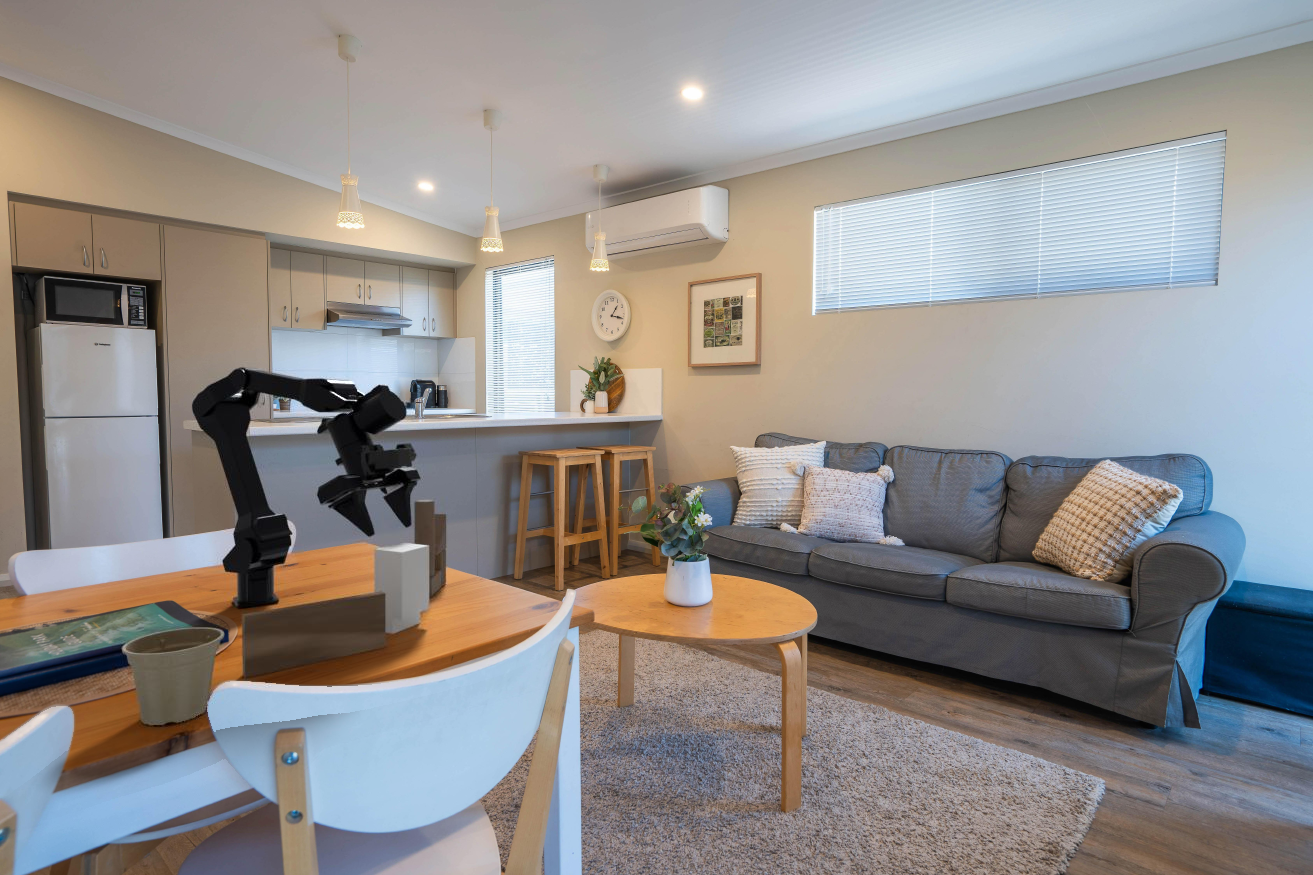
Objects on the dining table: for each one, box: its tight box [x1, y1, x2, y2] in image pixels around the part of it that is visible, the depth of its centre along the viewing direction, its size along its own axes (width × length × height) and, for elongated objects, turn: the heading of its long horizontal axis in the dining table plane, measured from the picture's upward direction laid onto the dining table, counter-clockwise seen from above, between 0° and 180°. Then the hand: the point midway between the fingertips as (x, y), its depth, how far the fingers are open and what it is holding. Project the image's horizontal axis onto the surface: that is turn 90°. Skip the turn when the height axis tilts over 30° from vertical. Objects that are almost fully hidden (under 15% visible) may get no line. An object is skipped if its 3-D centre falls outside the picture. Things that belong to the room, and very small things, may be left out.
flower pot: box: [121, 626, 225, 726], centre depth 77 cm, size 9×9×9 cm
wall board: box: [241, 591, 387, 679], centre depth 94 cm, size 3×18×8 cm, turn 132°
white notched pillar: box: [373, 542, 430, 635], centre depth 109 cm, size 6×6×13 cm
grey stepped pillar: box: [413, 498, 447, 598], centre depth 131 cm, size 4×11×18 cm, turn 3°
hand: (391, 530), depth 113 cm, fingers open, 9 cm apart
